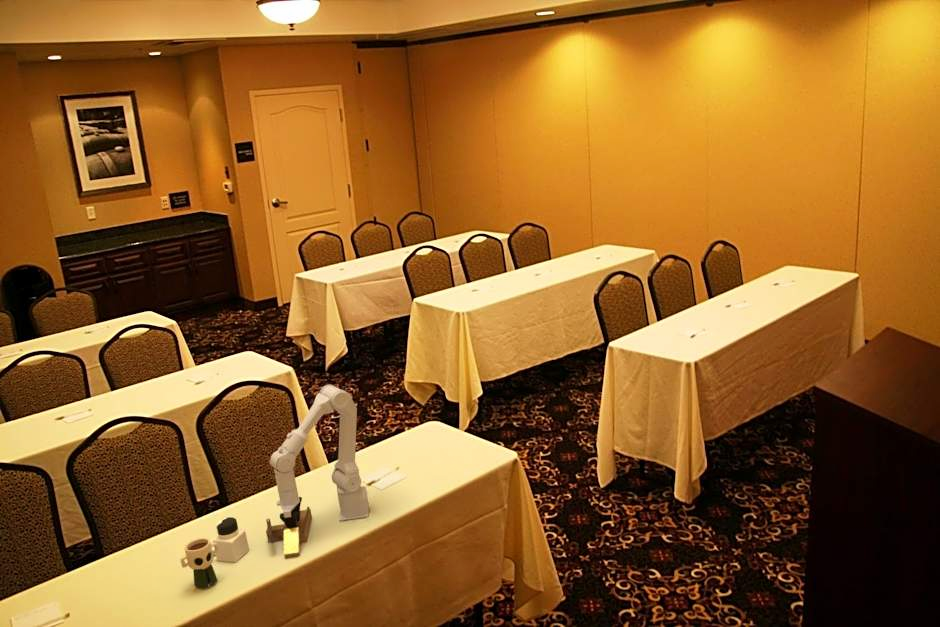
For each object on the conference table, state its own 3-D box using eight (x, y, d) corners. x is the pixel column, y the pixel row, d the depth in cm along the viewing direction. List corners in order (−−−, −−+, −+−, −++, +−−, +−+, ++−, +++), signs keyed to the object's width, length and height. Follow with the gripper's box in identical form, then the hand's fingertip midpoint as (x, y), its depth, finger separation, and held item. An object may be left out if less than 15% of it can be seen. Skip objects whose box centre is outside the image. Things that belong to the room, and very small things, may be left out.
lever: (274, 542, 236) (272, 533, 235) (270, 543, 236) (268, 534, 235) (271, 526, 246) (269, 518, 245) (267, 527, 245) (265, 519, 245)
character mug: (193, 597, 220) (183, 556, 217) (183, 588, 225) (174, 548, 222) (229, 579, 226) (220, 540, 223) (219, 571, 232) (210, 532, 229)
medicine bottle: (249, 550, 242) (242, 515, 239) (236, 562, 235) (228, 527, 232) (230, 548, 244) (223, 514, 241) (216, 561, 238) (208, 526, 235)
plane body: (312, 517, 257) (309, 506, 256) (306, 542, 242) (304, 530, 241) (274, 523, 257) (271, 512, 256) (266, 548, 241) (264, 537, 240)
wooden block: (299, 529, 240) (298, 527, 239) (299, 554, 235) (298, 552, 234) (285, 532, 240) (283, 529, 238) (285, 557, 235) (283, 554, 233)
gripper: (277, 479, 248) (285, 517, 251) (270, 500, 234) (278, 540, 237) (299, 476, 248) (307, 514, 252) (294, 497, 234) (301, 537, 238)
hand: (294, 527), depth 245 cm, fingers open, 7 cm apart
